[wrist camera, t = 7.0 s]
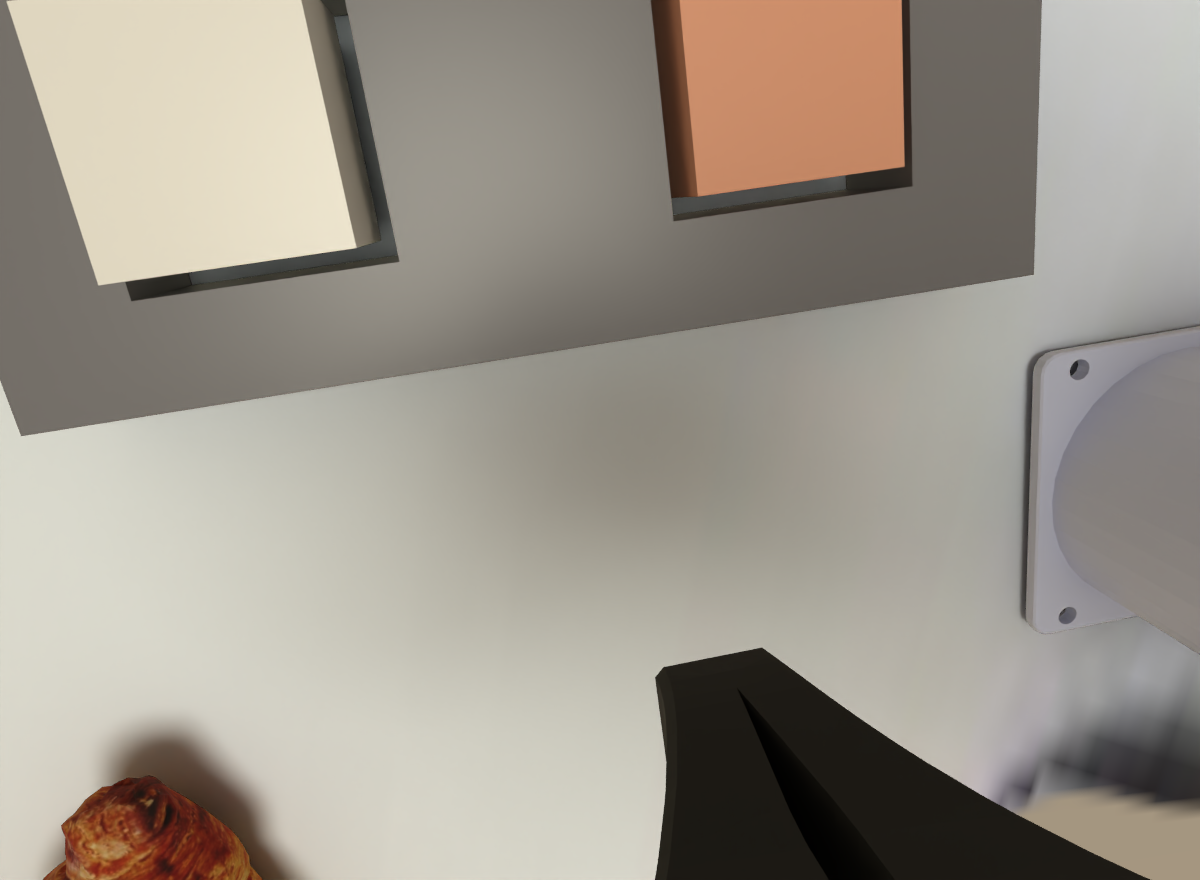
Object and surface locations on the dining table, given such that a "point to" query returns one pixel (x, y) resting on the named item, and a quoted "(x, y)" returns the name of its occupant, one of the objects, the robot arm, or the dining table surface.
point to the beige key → (199, 130)
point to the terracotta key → (778, 90)
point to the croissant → (148, 838)
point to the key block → (521, 215)
